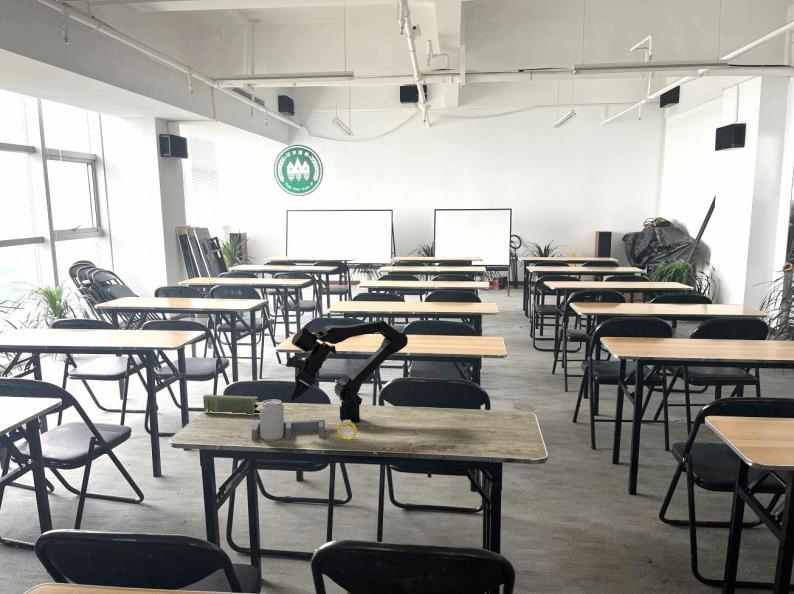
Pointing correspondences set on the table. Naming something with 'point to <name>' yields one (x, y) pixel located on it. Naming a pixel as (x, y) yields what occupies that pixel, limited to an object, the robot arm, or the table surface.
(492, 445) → the table surface
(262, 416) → the can
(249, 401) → the handheld radio
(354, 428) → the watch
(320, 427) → the comb rack
